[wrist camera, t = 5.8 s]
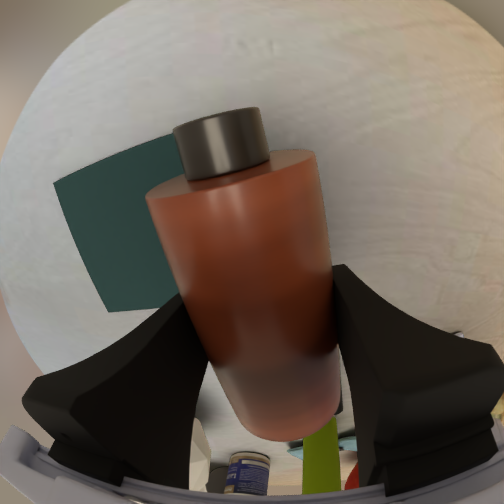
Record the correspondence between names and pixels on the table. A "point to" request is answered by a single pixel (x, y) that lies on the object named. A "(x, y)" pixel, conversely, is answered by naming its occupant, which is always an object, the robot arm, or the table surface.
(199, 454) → the geodesic sphere
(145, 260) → the pastry mat
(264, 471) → the pill bottle
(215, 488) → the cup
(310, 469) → the vape
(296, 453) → the bow tie
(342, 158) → the table surface
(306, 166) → the rolling pin
